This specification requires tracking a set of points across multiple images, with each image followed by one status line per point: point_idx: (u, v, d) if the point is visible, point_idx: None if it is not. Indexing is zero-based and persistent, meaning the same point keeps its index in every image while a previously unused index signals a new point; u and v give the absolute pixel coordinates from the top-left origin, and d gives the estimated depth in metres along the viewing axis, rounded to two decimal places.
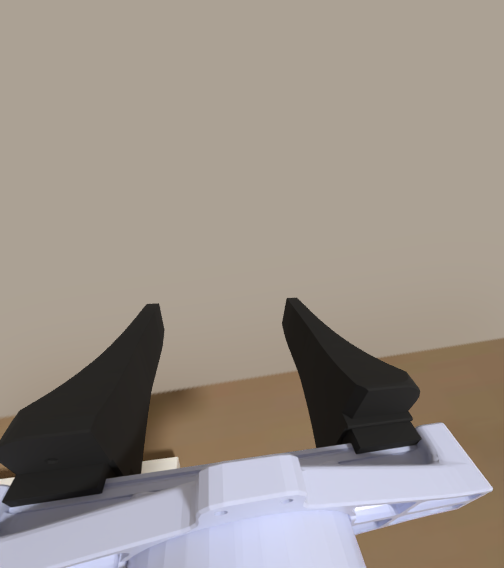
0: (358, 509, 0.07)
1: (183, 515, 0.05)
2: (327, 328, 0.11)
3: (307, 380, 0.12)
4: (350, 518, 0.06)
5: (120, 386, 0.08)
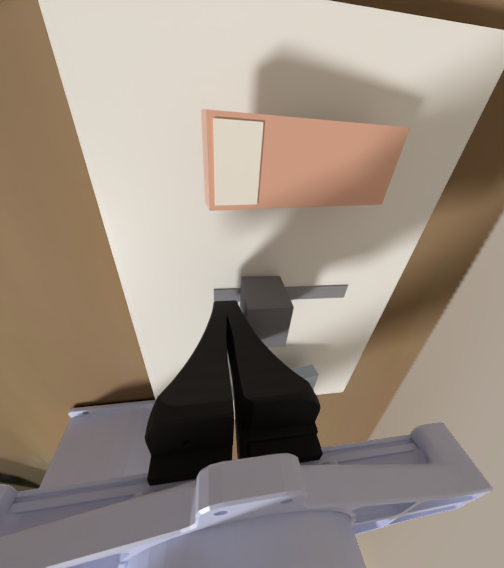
0: (358, 509, 0.07)
1: (183, 515, 0.05)
2: (251, 333, 0.11)
3: (234, 387, 0.11)
4: (350, 518, 0.06)
5: None
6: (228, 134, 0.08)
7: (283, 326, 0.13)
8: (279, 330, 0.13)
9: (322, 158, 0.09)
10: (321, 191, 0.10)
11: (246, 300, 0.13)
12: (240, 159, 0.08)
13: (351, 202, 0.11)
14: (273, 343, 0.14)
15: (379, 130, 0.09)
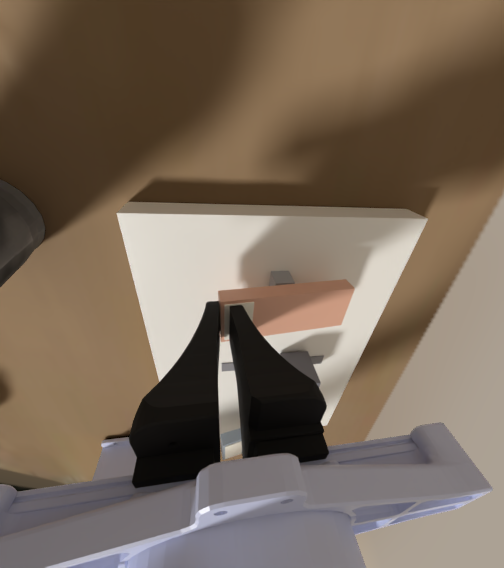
0: (358, 509, 0.07)
1: (183, 515, 0.05)
2: (256, 333, 0.11)
3: (238, 387, 0.11)
4: (350, 518, 0.06)
5: (217, 377, 0.08)
6: None
7: None
8: None
9: (294, 309, 0.14)
10: (295, 324, 0.15)
11: None
12: None
13: (317, 327, 0.15)
14: None
15: (332, 292, 0.14)
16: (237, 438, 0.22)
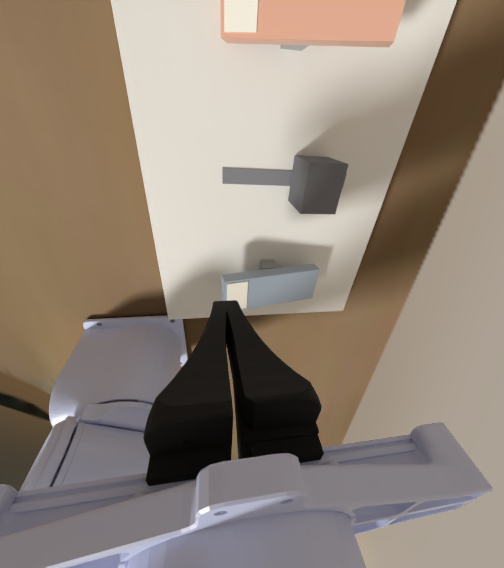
0: (358, 509, 0.07)
1: (183, 515, 0.05)
2: (252, 333, 0.11)
3: (234, 387, 0.11)
4: (350, 518, 0.06)
5: None
6: None
7: (336, 187, 0.15)
8: (332, 192, 0.15)
9: None
10: (317, 20, 0.11)
11: (305, 161, 0.14)
12: None
13: (353, 36, 0.11)
14: (325, 209, 0.15)
15: None
16: (241, 278, 0.18)
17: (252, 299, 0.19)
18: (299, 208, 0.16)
